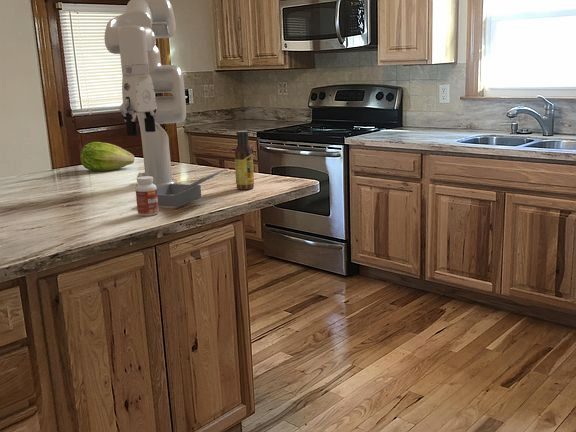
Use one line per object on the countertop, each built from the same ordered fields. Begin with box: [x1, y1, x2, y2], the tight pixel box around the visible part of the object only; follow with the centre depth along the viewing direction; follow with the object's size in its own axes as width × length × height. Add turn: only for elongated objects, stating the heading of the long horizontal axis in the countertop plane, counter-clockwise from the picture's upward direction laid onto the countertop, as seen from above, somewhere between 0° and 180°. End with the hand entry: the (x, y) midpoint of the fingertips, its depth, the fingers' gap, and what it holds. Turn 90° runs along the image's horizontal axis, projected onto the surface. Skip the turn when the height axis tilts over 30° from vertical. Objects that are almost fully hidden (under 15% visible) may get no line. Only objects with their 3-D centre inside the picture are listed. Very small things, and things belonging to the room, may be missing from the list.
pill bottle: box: [135, 176, 160, 217], centre depth 183 cm, size 6×6×11 cm
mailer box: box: [157, 183, 202, 209], centre depth 199 cm, size 12×16×4 cm
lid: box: [175, 168, 229, 194], centre depth 193 cm, size 12×16×1 cm
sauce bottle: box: [234, 130, 255, 191], centre depth 212 cm, size 6×6×20 cm
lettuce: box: [80, 141, 136, 172], centre depth 261 cm, size 13×22×14 cm
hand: (141, 133), depth 178 cm, fingers open, 8 cm apart
